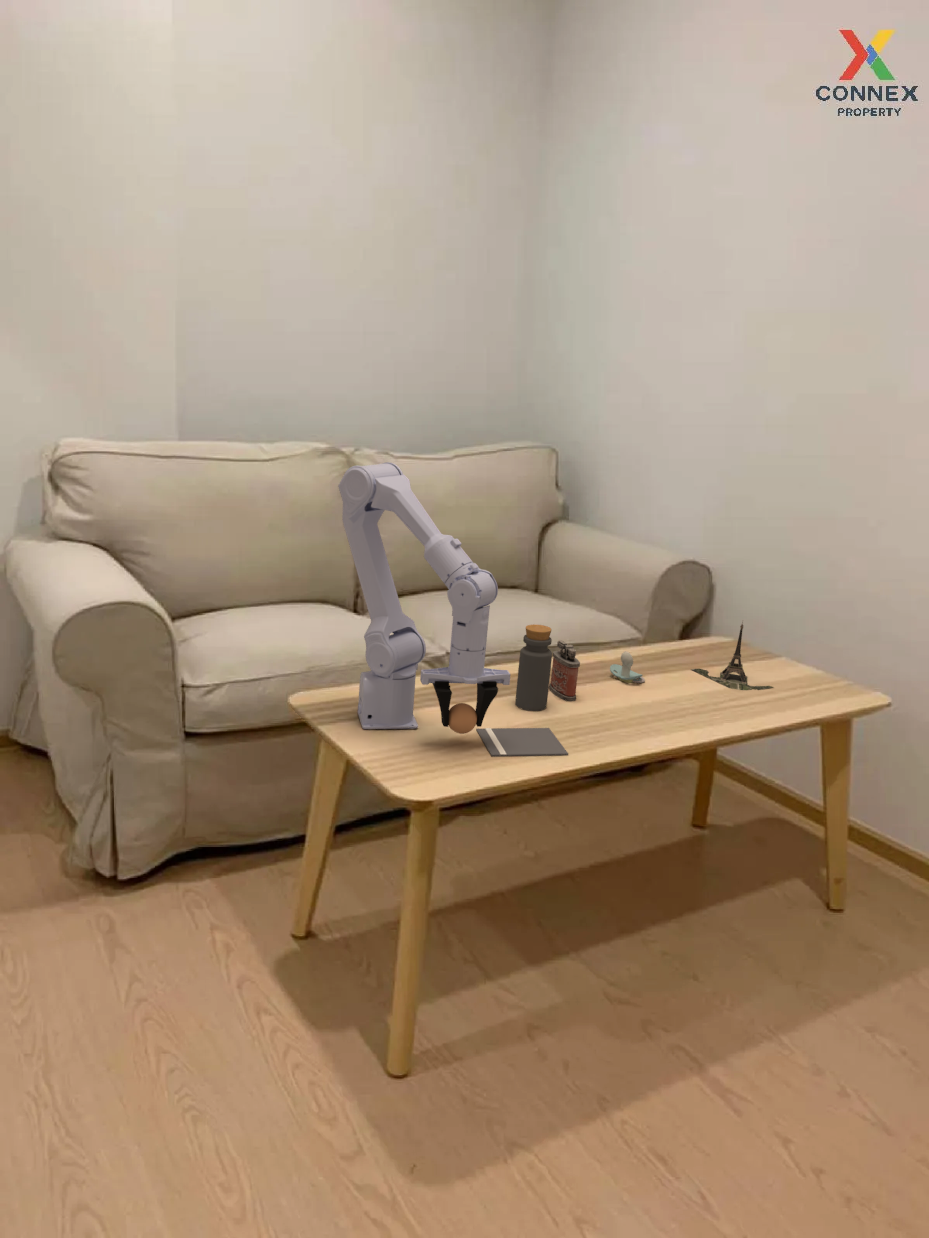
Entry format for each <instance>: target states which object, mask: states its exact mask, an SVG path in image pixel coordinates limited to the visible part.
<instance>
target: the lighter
mask: <svg viewBox="0 0 929 1238" xmlns="http://www.w3.org/2000/svg"><path fill="white" fill-rule="evenodd" d="M556 645H557V648H558V649H559V650H554V651H552V664H551V673H550V682H549V689H548V690H549V692H551V693H552V694H553V695H554V696H555V697H557V698H559V699H560V700H562V701H564V702H575V701H576V700H577V693H576V692H577V684H578V674H579V668H580V666H581V662H580V660H579V659H578V658H577V657H576V655H577V650H576V649H575V648H574V645H573V644H568V643H567V642H566V641H564V640H561V639H559V640H558V641H557V644H556Z"/></svg>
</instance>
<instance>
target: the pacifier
mask: <svg viewBox="0 0 929 1238" xmlns="http://www.w3.org/2000/svg"><path fill="white" fill-rule="evenodd" d="M620 661H621V664H622V665H620V664H616V663H613V664H611V665H610V666H609V671H610V673H611V674H612V675H613V676H614V677H616V678H617V679H618V680H619V681H621V682H623V683H628V684H633V683H637V684H638V683H639V684H642V683H645V681H646V679H645V677H643V674H641V673H638V672H636V671H634V670H631V667H632V666H633V665H634V657H633V656H632V654H631V653H630V652H629V651H623V652H622V653H621V655H620Z"/></svg>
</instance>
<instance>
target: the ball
mask: <svg viewBox="0 0 929 1238" xmlns="http://www.w3.org/2000/svg"><path fill="white" fill-rule="evenodd" d="M476 723H477V714H476V709H475V708H474V707H473V706H471V705H470V704H468V703H465V702H461V703H460V702H459V703H456V704H454V705H452V706H450V707H449V724H448V727H449V728H450V730H451V731H452V732H455V734H460V735H462V734H468V733H470V732H472V730H473V729H474V728H475V727H476V726H477V725H476Z"/></svg>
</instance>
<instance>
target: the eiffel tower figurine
mask: <svg viewBox="0 0 929 1238" xmlns="http://www.w3.org/2000/svg"><path fill="white" fill-rule="evenodd" d="M743 629H744V621H742V623H741V624H740V630H739V634H738V638H737V643H736V648H735V651H734V653H733V657H732V658H731V660H730V662H728V665H727V666H726V667H725V669H723V671H722V672H720V673H719V676H712V675H709V673H710V672H709V671H708V670H707V669H706V670H705V669H702V668H691V669H690V670H691V671H692V672H693V671H694V672H696V673H697V674H700V675H701V676H703V677H705V678H708V679H710V680H713V681H714V682H717V683H718V684H720V685H723V686H724V687H726V688H728V689H730V690H731V689H732V690H738V691H752V690H754V691H756V690H757V691H762V690H766V689H771V688H773V686H772V685H750V684H748V676H747V675H746V674H745V671H744V668H743V663H742V661H741V660H742V654H741V650H742V649H741V647H742V637H743ZM736 660H737V661H738V662H737V663H736ZM735 673H736V674H735Z"/></svg>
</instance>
